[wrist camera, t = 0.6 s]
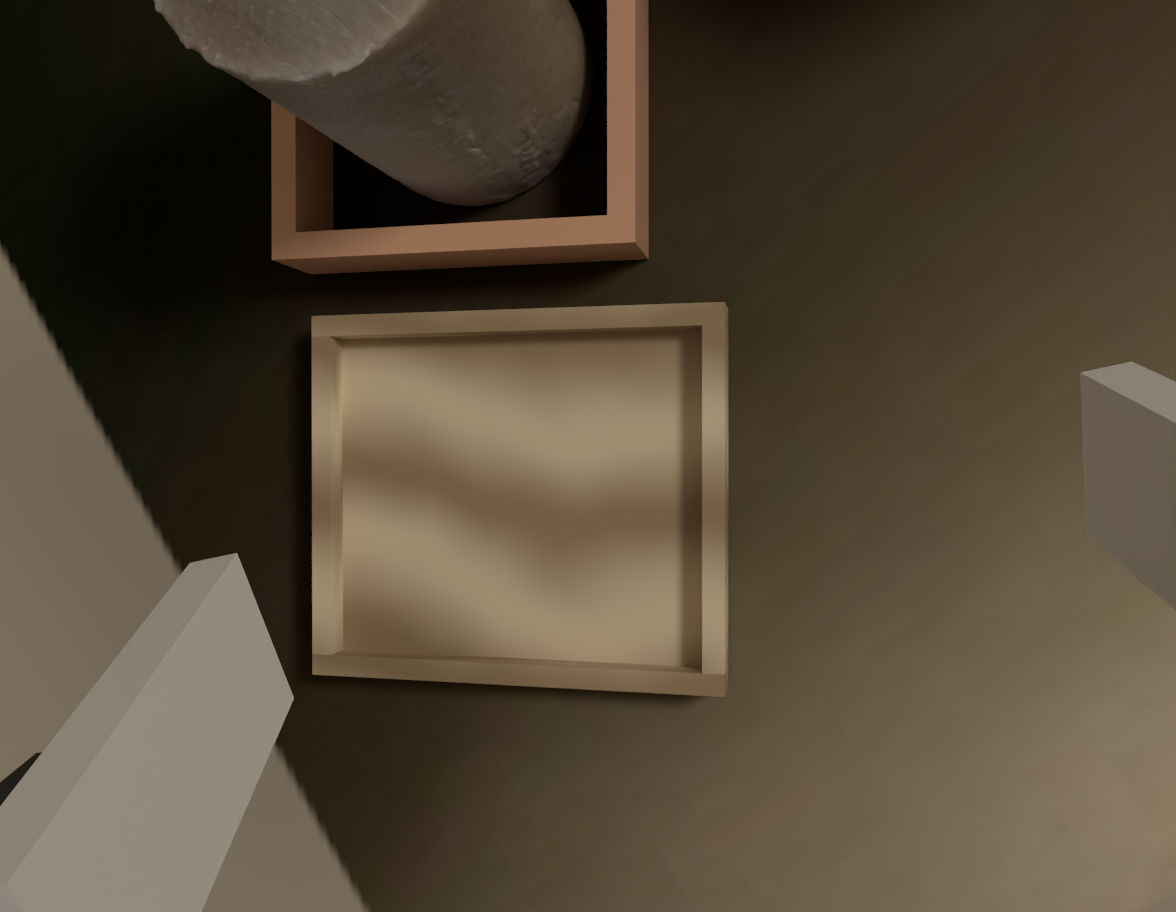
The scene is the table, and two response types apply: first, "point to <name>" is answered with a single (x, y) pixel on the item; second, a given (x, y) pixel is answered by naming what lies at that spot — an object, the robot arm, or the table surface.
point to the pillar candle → (414, 81)
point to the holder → (611, 237)
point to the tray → (523, 497)
